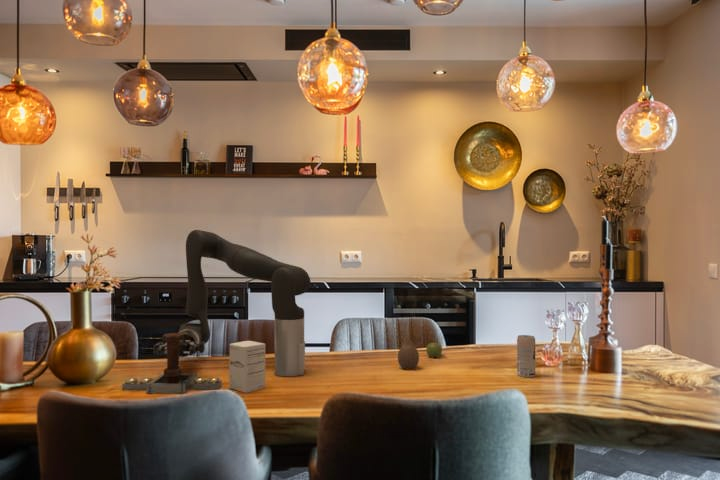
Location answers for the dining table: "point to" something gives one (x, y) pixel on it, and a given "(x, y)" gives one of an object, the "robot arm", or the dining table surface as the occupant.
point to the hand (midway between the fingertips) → (175, 352)
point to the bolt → (173, 357)
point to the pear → (434, 349)
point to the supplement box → (247, 366)
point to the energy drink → (526, 356)
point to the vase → (408, 356)
